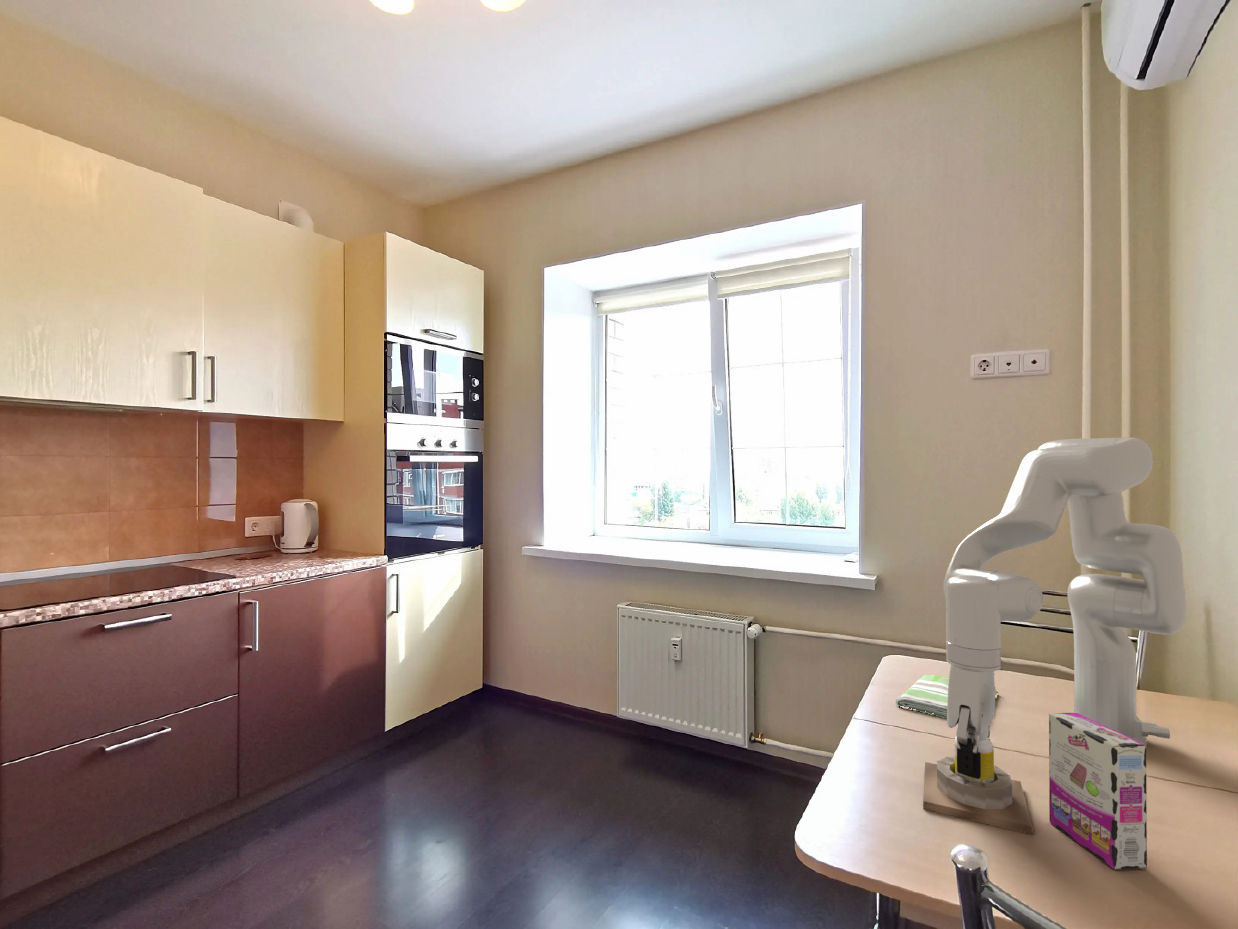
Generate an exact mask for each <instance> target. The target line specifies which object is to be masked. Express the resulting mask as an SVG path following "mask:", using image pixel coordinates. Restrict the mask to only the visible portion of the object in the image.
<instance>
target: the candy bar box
mask: <svg viewBox="0 0 1238 929" xmlns="http://www.w3.org/2000/svg"><path fill="white" fill-rule="evenodd" d="M1048 730H1049V731H1048V737H1049V738H1048V751H1049V753H1048V755H1049V756H1048V757H1049V760H1048V767H1049V768H1048V769H1049V771H1048V773H1049V775H1048V776H1049V778H1048V780H1049V783H1048V784H1049V788H1048V789H1049V791H1048V792H1049V799H1048V800H1049V802H1048V804H1049V823H1050V824H1051V825H1052V826H1054V827H1055V828H1056V829H1058V830H1059V831H1061V832H1062V833H1063V834H1065V835H1066V836H1068V837H1069V838H1070V839H1072V840H1073V841H1074V842H1076V843H1077V844H1078V845H1079V846H1081V847H1083V848H1084V849H1085V850H1087V851H1088V852H1089V853H1091V854H1093V855H1094V856H1095V857H1097V858H1098V859H1099V860H1101V861H1102V862H1103V863H1104V864H1106V865H1107V866H1109V867H1110V868H1112V869H1114V870H1115V871H1117V870H1118V871H1120V870H1121V871H1122V870H1145V869H1147V868H1148V842H1147V841H1148V838H1147V833H1148V830H1147V828H1148V826H1147V824H1148V822H1147V818H1148V817H1147V816H1148V814H1147V812H1148V811H1147V799H1148V798H1147V797H1148V796H1147V793H1148V792H1147V746H1146V745H1145V744H1143V743H1141V742H1139V741H1136V740H1134V739H1132V738H1130V737H1128V736H1126V735H1124V734H1122V733H1120V732H1117V731H1115V730H1113V729H1111V728H1109V727H1107V726H1105V725H1102V724H1100V723H1098V722H1096V721H1094V720H1092V719H1089V718H1087V717H1085V716H1083V715H1081V714H1079V713H1074V712H1059V713H1058V712H1057V713H1048Z"/></svg>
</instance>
